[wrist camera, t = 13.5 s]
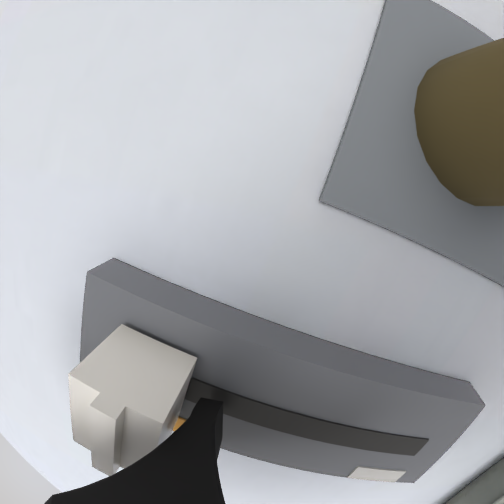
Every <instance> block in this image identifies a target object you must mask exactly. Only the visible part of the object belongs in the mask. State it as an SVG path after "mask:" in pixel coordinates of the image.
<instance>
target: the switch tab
mask: <svg viewBox="0 0 504 504" xmlns="http://www.w3.org/2000/svg"><path fill="white" fill-rule="evenodd" d="M196 361H197V357H194V356H192V355H189V354H187V353H185V352H182V351H180V350H178V349H175V348H173V347H171V346H168V345H166V344H164V343H162V342H159V341H157V340H155V339H153V338H150V337H148V336H146V335H144V334H142V333H140V332H138V331H135V330H133V329H131V328H129V327H127V326H125V325H123V324H121V325H120V326H119V327H118V328H117V329H116V330H115V331H114V332H112V333H111V334H110V335H109V336H108V337H107V338H106V339H105V340H104V341H103V342H102V343H101V344H100V345H98V346H97V347H96V348H95V349H94V350H93V351H92V352H91V353H90V354H89V355H88V356H87V357H86V358H85V359H84V360H83V361H81V362H80V363H79V364H78V365H77V366H76V367H75V368H74V369H73V370H72V371H71V372H70V373H69V396H70V410H71V422H72V431H73V439H74V441H75V442H77V443H79V444H80V445H82V446H84V447H85V448H87V449H89V450H90V451H91V457H92V467H94V468H96V469H97V470H99V471H101V472H103V473H105V474H107V475H109V476H111V475H113V474H115V473H116V472H117V470H118V468H119V467H122V468H124V469H125V468H126V467H128V466H130V465H132V464H133V463H135V462H136V461H138V460H140V459H141V458H143V457H144V456H145V455H147V454H148V453H150V452H151V451H152V450H154V449H155V448H156V447H157V446H159V445H160V444H161V443H162V442H163V441H165V440H166V439H167V438H168V437H169V436H170V435H171V432H172V430H173V428H174V426H175V424H176V422H177V420H178V417H179V414H180V410H181V407H182V404H183V401H184V398H185V395H186V392H187V389H188V385H189V382H190V379H191V376H192V373H193V370H194V367H195V364H196Z"/></svg>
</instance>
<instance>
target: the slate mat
mask: <svg viewBox="0 0 504 504" xmlns="http://www.w3.org/2000/svg"><path fill="white" fill-rule="evenodd" d="M493 41H494V40H493V39H491V38H490V37H489V36H487V35H486V34H485V33H483V32H482V31H480V30H479V29H477V28H476V27H474V26H473V25H471V24H470V23H468V22H467V21H465V20H464V19H462V18H461V17H459V16H457V15H456V14H454V13H452V12H451V11H449V10H447V9H446V8H444V7H442V6H440V5H439V4H437V3H435V2H433V1H431V0H386V1H385V4H384V8H383V11H382V15H381V18H380V22H379V25H378V28H377V32H376V35H375V38H374V42H373V45H372V48H371V51H370V55H369V58H368V61H367V64H366V67H365V70H364V73H363V77H362V80H361V83H360V86H359V89H358V92H357V95H356V98H355V101H354V104H353V107H352V110H351V113H350V115H349V118H348V121H347V124H346V127H345V130H344V133H343V136H342V138H341V141H340V144H339V147H338V150H337V153H336V155H335V158H334V161H333V164H332V166H331V169H330V172H329V174H328V177H327V180H326V183H325V185H324V188H323V191H322V193H321V196H320V199H319V201H321V202H323V203H326V204H328V205H331V206H333V207H336V208H338V209H341V210H343V211H346V212H348V213H350V214H353V215H355V216H358V217H360V218H362V219H365V220H367V221H369V222H372V223H374V224H376V225H379V226H381V227H383V228H385V229H388V230H390V231H392V232H394V233H397V234H399V235H401V236H403V237H405V238H408V239H410V240H412V241H414V242H416V243H418V244H421V245H423V246H425V247H427V248H429V249H431V250H433V251H435V252H437V253H439V254H441V255H443V256H445V257H447V258H450V259H452V260H454V261H456V262H458V263H459V264H461V265H463V266H465V267H467V268H469V269H471V270H473V271H475V272H477V273H479V274H481V275H483V276H485V277H486V278H488V279H490V280H492V281H494V282H496V283H498V284H499V285H501V286H503V287H504V206H474V205H472V204H469V203H467V202H465V201H462V200H460V199H458V198H456V197H455V196H454V195H453V194H452V193H451V192H450V191H449V190H448V189H447V188H445V187H444V186H443V185H442V184H441V183H440V182H439V180H438V179H437V177H436V175H435V174H434V172H433V171H432V169H431V168H430V166H429V165H428V163H427V162H426V159H425V156H424V153H423V151H422V148H421V145H420V142H419V140H418V137H417V131H416V122H415V114H414V107H415V101H416V95H417V88H418V86H419V84H420V82H421V80H422V79H423V77H424V75H425V73H426V71H427V70H428V69H429V68H431V67H432V66H434V65H435V64H436V63H438V62H439V61H440V60H442V59H445V58H447V57H450V56H453V55H455V54H458V53H461V52H463V51H466V50H469V49H472V48H475V47H478V46H481V45H483V44H486V43H489V42H493Z"/></svg>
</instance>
